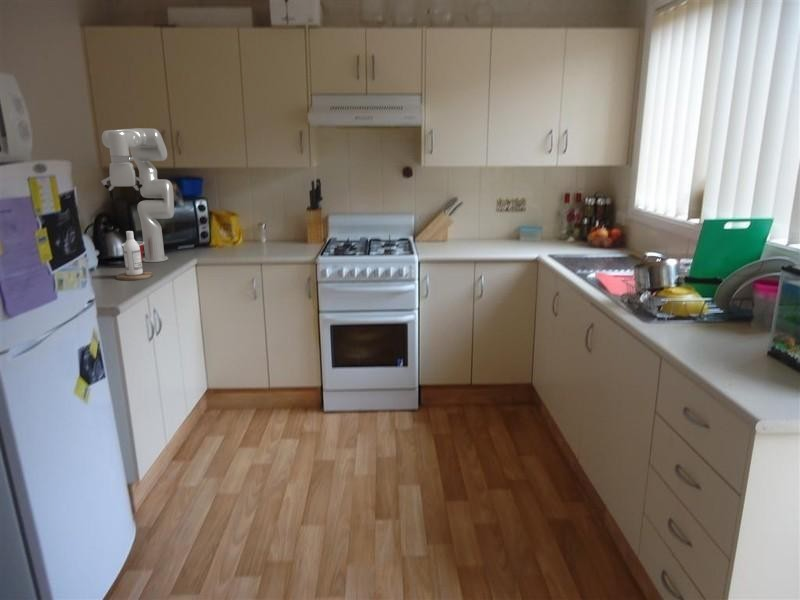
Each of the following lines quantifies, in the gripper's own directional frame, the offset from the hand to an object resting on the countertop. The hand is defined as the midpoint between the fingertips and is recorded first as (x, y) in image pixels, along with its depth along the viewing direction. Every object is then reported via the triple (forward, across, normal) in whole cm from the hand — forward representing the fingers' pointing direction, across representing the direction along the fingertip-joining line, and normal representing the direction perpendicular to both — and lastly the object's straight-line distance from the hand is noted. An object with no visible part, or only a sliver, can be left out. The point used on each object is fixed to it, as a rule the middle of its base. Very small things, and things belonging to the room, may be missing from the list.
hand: (125, 199), depth 246 cm
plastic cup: (+36, +3, -25) cm, 44 cm away
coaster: (+36, 0, 0) cm, 36 cm away
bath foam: (+35, 0, 0) cm, 35 cm away
